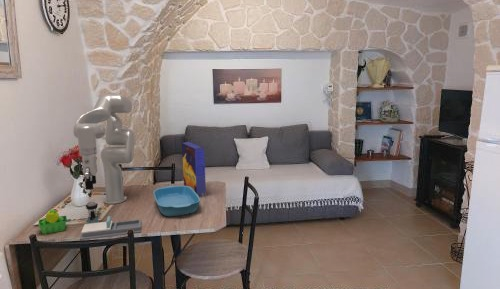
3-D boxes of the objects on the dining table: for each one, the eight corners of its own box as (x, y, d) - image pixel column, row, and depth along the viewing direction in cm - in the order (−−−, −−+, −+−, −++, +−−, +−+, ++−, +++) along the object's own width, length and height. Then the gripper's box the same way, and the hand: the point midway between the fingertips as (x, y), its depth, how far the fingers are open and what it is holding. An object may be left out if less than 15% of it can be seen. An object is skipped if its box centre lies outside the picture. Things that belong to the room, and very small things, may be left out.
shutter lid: (84, 225, 163) (84, 217, 162) (112, 222, 166) (111, 214, 165) (81, 233, 154) (80, 225, 153) (110, 230, 157) (109, 222, 157)
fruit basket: (67, 225, 169) (65, 202, 167) (67, 231, 161) (65, 208, 159) (40, 229, 164) (37, 207, 162) (39, 237, 156) (36, 213, 154)
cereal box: (184, 188, 224) (181, 142, 219) (192, 187, 227) (190, 141, 222) (196, 198, 206) (194, 148, 200) (205, 196, 209) (204, 147, 203)
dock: (85, 228, 165) (84, 224, 164) (141, 221, 172) (141, 217, 171) (79, 240, 153) (79, 235, 152) (141, 232, 159) (140, 228, 159)
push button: (102, 219, 176) (100, 200, 174) (102, 223, 171) (100, 203, 169) (87, 221, 173) (85, 202, 171) (87, 225, 168) (85, 205, 166)
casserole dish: (204, 215, 180) (204, 202, 178) (160, 222, 172) (159, 208, 170) (189, 194, 213) (188, 183, 212) (151, 199, 205) (150, 187, 204)
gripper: (93, 154, 158) (97, 190, 161) (98, 148, 175) (101, 181, 178) (75, 155, 156) (79, 192, 159) (82, 149, 173) (85, 182, 175)
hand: (91, 186), depth 168 cm, fingers open, 9 cm apart
